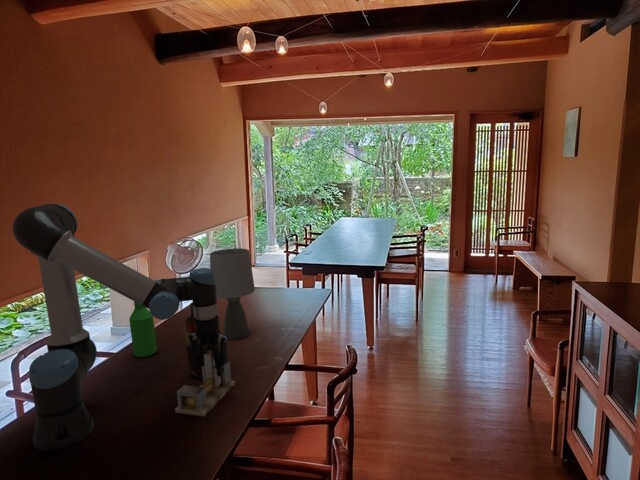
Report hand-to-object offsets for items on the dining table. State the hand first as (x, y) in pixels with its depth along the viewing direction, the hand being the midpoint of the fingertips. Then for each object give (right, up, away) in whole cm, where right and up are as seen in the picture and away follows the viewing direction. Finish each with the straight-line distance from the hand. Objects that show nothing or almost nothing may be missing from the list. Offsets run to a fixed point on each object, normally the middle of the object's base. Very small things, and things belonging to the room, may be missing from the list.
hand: (212, 383), depth 150 cm
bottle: (-35, +1, +33) cm, 48 cm away
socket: (+1, -1, +4) cm, 4 cm away
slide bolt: (-1, -2, -4) cm, 5 cm away
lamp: (-1, +6, +49) cm, 49 cm away
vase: (-6, -1, +15) cm, 16 cm away
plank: (-1, -3, -3) cm, 5 cm away
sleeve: (-3, -4, -11) cm, 12 cm away
